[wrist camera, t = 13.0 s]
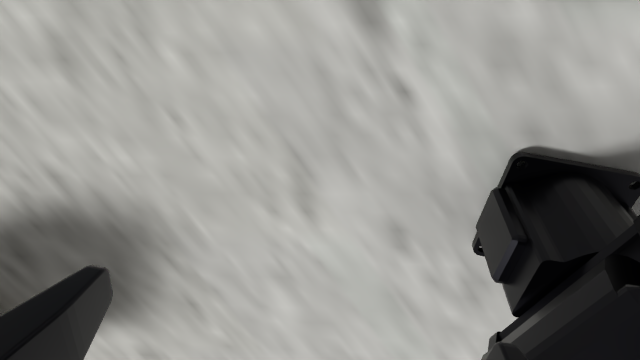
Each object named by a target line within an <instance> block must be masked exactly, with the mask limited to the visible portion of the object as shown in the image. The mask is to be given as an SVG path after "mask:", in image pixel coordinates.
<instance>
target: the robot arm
mask: <svg viewBox="0 0 640 360" xmlns="http://www.w3.org/2000/svg"><path fill="white" fill-rule="evenodd" d="M520 161H525V163H524V164H523V165H519V166H518V165H517V163H518V162H520ZM634 181H636V183H635V184H633V185H630V184H631V183H632V182H634ZM639 196H640V174H639V173H636V172H630V171H624V170H619V169H613V168H608V167H602V166H597V165H591V164H586V163H580V162H575V161H569V160H563V159H558V158H552V157H547V156H541V155H536V154H530V153H525V152H519V153H516V154H514V155H513V156H512V157H511V158H510V160H509V162H508V165H507V167H506V169H505V171H504V173H503V176H502V178H501V180H500V182H499V185H498V187H496V188H495V189H493V190H492V191H491V193H490V195H489V197H488V200H487V202H486V204H485V206H484V209H483V211H482V213H481V216H480V218H479V220H478V222H477V225H476V229H477V234H476V236H475V238H474V240H473V243H472V247H473V250H474V253H476V254H477V255H480V256H485V258H486V261H487V264H488V268H489V271H490V274H491V277H492V278H493V280H494V281H495V282H496V283H502V285H503V288H504V291H505V294H506V297H507V300H508V303H509V306H510V309H511V312H512V314H513V316H515V317H518V319H516V320H515V321H514V322H513V323H512V324H510V325H509V326H508V327H507V328H505V329H504V330H503V331H502V332H497V333H495V334H494V335H493V336H492V337H490V339H489V346H488V352H487V353H486V354H484V355H483V357H482V359H481V360H640V215H639V216H637V215H636V214H635V213H634V211H633V210H632V209H631V208H632V206H633V205H634V203H635V202H636V200H637V199H638V197H639ZM479 246H482V248H480V247H479ZM112 296H113V291H112V285H111V279H110V274H109V270H108V269H107V268H105V267H100V266H94V265H89V266H86V267H84V268H83V269H81V270H79V271H77V272H76V273H74V274H72V275H70V276H69V277H67V278H65V279H64V280H62V281H60V282H58V283H57V284H55V285H53V286H51V287H50V288H48V289H46V290H45V291H43V292H41V293H39V294H38V295H36V296H34V297H32V298H31V299H29V300H27V301H25V302H24V303H22V304H20V305H19V306H17V307H15V308H13V309H12V310H10V311H8V312H6V313H5V314H3V315H1V316H0V360H83V359H84V357H85V355H86V353H87V351H88V349H89V347H90V345H91V343H92V341H93V339H94V336H95V334H96V332H97V330H98V328H99V326H100V324H101V322H102V320H103V317H104V315H105V313H106V311H107V309H108V307H109V305H110V303H111V300H112Z"/></svg>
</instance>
